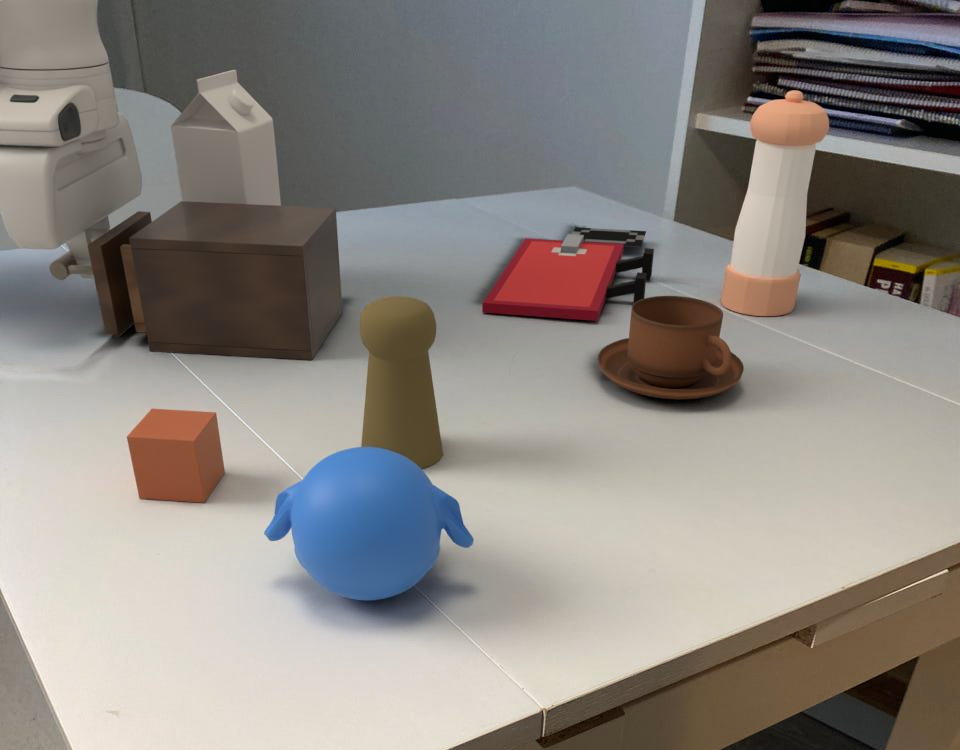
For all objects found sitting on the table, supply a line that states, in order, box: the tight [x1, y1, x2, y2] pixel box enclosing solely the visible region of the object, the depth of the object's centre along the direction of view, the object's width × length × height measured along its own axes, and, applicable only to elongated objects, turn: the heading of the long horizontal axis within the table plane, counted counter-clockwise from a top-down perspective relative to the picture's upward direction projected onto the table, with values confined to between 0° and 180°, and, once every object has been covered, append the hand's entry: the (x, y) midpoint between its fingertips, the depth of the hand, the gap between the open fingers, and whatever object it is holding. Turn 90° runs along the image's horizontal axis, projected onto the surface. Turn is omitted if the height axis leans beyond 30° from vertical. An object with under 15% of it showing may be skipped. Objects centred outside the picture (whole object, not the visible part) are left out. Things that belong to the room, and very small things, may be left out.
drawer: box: [49, 210, 153, 338], centre depth 91 cm, size 18×11×8 cm, turn 84°
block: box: [126, 408, 226, 504], centre depth 68 cm, size 4×4×4 cm
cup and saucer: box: [597, 295, 745, 400], centre depth 83 cm, size 12×12×6 cm
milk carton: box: [170, 69, 282, 206], centre depth 99 cm, size 7×7×19 cm
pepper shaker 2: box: [720, 90, 830, 317], centre depth 96 cm, size 7×7×19 cm
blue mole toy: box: [263, 446, 475, 601], centre depth 58 cm, size 12×12×8 cm
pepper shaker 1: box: [359, 295, 444, 470], centre depth 70 cm, size 6×6×11 cm
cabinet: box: [129, 200, 343, 361], centre depth 90 cm, size 15×13×10 cm
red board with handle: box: [481, 226, 655, 322], centre depth 108 cm, size 30×3×15 cm
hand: (95, 273), depth 92 cm, fingers closed, pressing on drawer
